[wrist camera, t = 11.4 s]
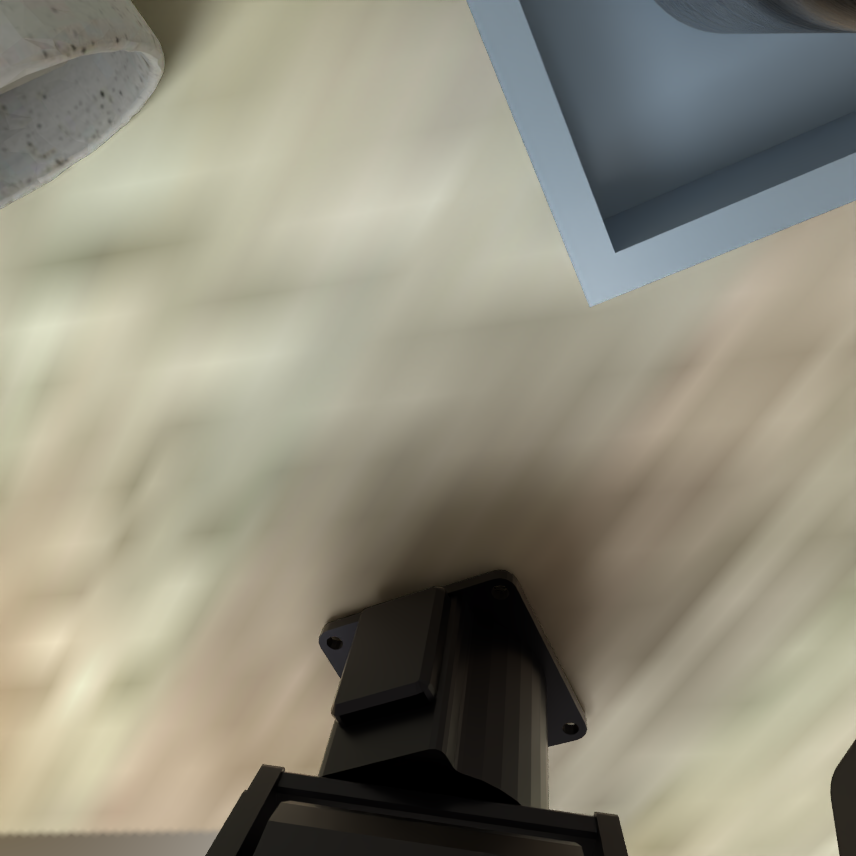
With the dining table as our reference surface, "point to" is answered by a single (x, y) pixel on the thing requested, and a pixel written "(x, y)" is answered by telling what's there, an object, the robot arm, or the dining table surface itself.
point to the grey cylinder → (68, 83)
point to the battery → (764, 15)
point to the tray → (670, 131)
